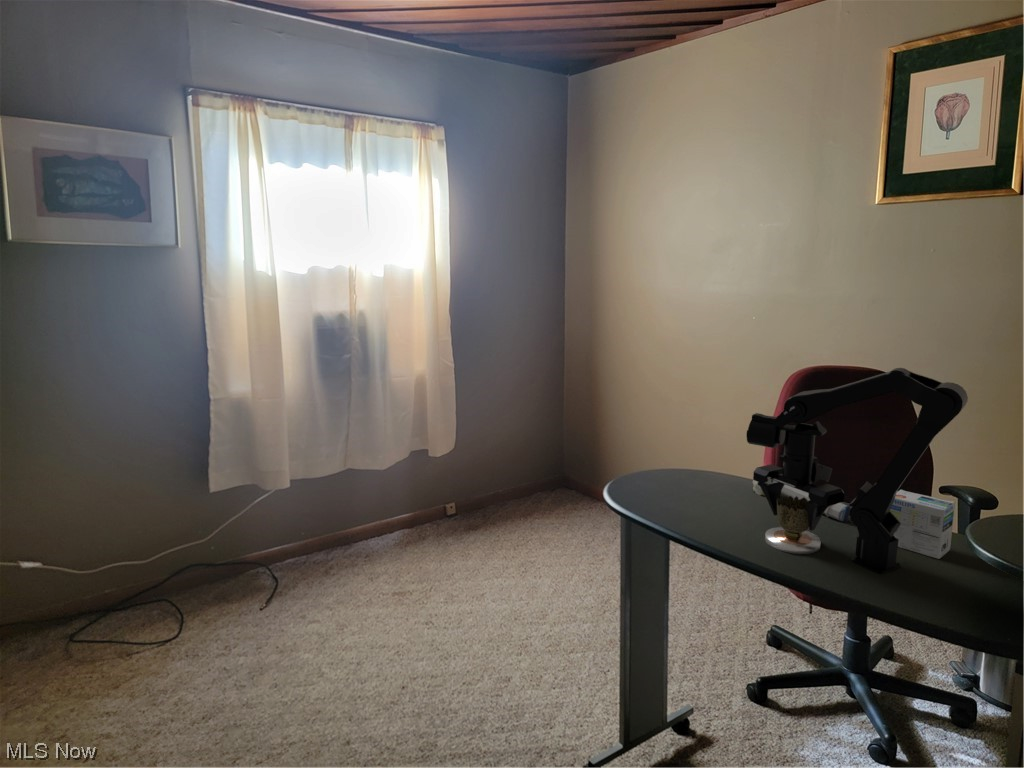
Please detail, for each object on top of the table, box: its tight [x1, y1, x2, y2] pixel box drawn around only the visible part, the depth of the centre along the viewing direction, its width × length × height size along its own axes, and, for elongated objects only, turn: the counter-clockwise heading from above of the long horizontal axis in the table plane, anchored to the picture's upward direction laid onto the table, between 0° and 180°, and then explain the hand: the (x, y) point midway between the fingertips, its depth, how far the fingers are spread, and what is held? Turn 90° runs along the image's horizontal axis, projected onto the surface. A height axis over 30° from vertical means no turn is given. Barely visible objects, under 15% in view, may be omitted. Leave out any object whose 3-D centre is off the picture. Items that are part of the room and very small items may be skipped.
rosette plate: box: [764, 526, 821, 555], centre depth 143 cm, size 11×11×1 cm
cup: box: [777, 495, 811, 539], centre depth 142 cm, size 8×7×8 cm
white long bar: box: [752, 480, 852, 522], centre depth 164 cm, size 5×7×25 cm
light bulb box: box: [890, 489, 956, 560], centre depth 139 cm, size 11×7×11 cm, turn 41°
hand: (793, 522), depth 142 cm, fingers open, 9 cm apart
